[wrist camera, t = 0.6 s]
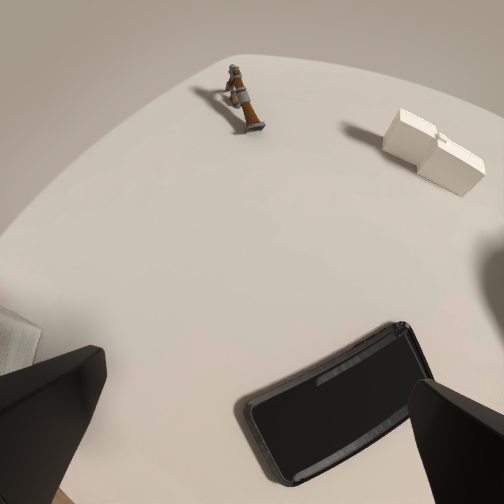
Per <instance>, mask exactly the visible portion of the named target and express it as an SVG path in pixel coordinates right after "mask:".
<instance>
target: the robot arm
mask: <svg viewBox="0 0 504 504" xmlns="http://www.w3.org/2000/svg"><path fill="white" fill-rule="evenodd" d="M106 378H107V368H106V359H105V352H104V350H103V348H101V347H97V346H93V345H88V346H85V347H83V348H80V349H77V350H74V351H71V352H68V353H66V354H63V355H60V356H57V357H54V358H51V359H49V360H46V361H43V362H40V363H37V364H34V365H31V366H28V367H25V368H22V369H19V370H16V371H13V372H10V373H7V374H4V375H1V376H0V504H52V501H53V499H54V497H55V495H56V492H57V490H58V488H59V486H60V484H61V481H62V479H63V477H64V475H65V473H66V471H67V469H68V466H69V464H70V462H71V460H72V458H73V456H74V454H75V452H76V450H77V448H78V446H79V444H80V442H81V440H82V438H83V436H84V434H85V432H86V430H87V428H88V426H89V424H90V421H91V419H92V416H93V414H94V411H95V408H96V405H97V403H98V400H99V397H100V395H101V392H102V389H103V387H104V384H105V382H106ZM407 408H408V412H409V416H410V420H411V424H412V428H413V432H414V436H415V441H416V444H417V448H418V451H419V454H420V457H421V460H422V463H423V466H424V469H425V472H426V475H427V478H428V481H429V484H430V487H431V491H432V494H433V497H434V500H435V504H504V415H502V414H500V413H498V412H496V411H494V410H492V409H490V408H488V407H486V406H484V405H482V404H480V403H478V402H476V401H474V400H472V399H470V398H467V397H465V396H463V395H461V394H459V393H457V392H455V391H453V390H451V389H449V388H447V387H445V386H444V385H442V384H440V383H438V382H436V381H434V380H432V379H421V380H419V381H418V382H417V383H416V385H415V387H414V389H413V391H412V393H411V396H410V398H409V400H408V403H407Z"/></svg>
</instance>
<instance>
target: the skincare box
mask: <svg viewBox="0 0 504 504" xmlns="http://www.w3.org/2000/svg"><path fill="white" fill-rule="evenodd" d="M41 332H42V329H41V328H40V327H38V326H36V325H34V324H32V323H31V322H29V321H27V320H26V319H24V318H22V317H20V316H18V315H17V314H15V313H13V312H12V311H9V310H7V309H4V308H2V307H0V376H1V375H4V374H7V373H10V372H13V371H16V370H19V369H22V368H25V367H28V366H31V365H32V363H33V359H34V355H35V352H36V348H37V345H38V342H39V338H40V335H41Z"/></svg>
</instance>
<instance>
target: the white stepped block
mask: <svg viewBox="0 0 504 504" xmlns="http://www.w3.org/2000/svg"><path fill="white" fill-rule="evenodd" d="M382 150H383V151H385V152H387V153H390V154H392V155H394V156H396V157H398V158H401V159H403V160H405V161H407V162H409V163H411V164H413V165H415V166H417V174H419V175H421V176H423V177H425V178H427V179H429V180H431V181H433V182H435V183H437V184H438V185H440V186H442V187H444V188H446V189H448V190H450V191H451V192H453V193H455V194H457V195H459V196H460V197H463V196H464V195H465V194H467V193H468V192H469V191H470V190H471V189H472V188H473V187H474V186H475V185H476V184H477V183H478V182H479V181H480V180H481V179H482V178H483V177H484V176H485V175H486V174H485V169H484V164H483V160H482V159H480V158H478V157H477V156H475V155H474V154H472V153H471V152H469V151H467V150H466V149H464V148H463V147H461V146H459V145H458V144H456V143H454V142H452V141H451V140H449V139H447V137H446V136H445V135H443V134H441V133H437V131H436V126H434V125H433V124H431V123H429V122H427V121H425V120H423V119H421V118H419V117H417V116H415V115H413V114H411V113H409V112H407V111H405V110H403V109H401V108H400V109H399V111H398V113H397V114H396V116H395V118H394V120H393V121H392V123H391V125H390V127H389V128H388V130H387V132H386V133H385V135H384V137H383V147H382Z"/></svg>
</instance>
